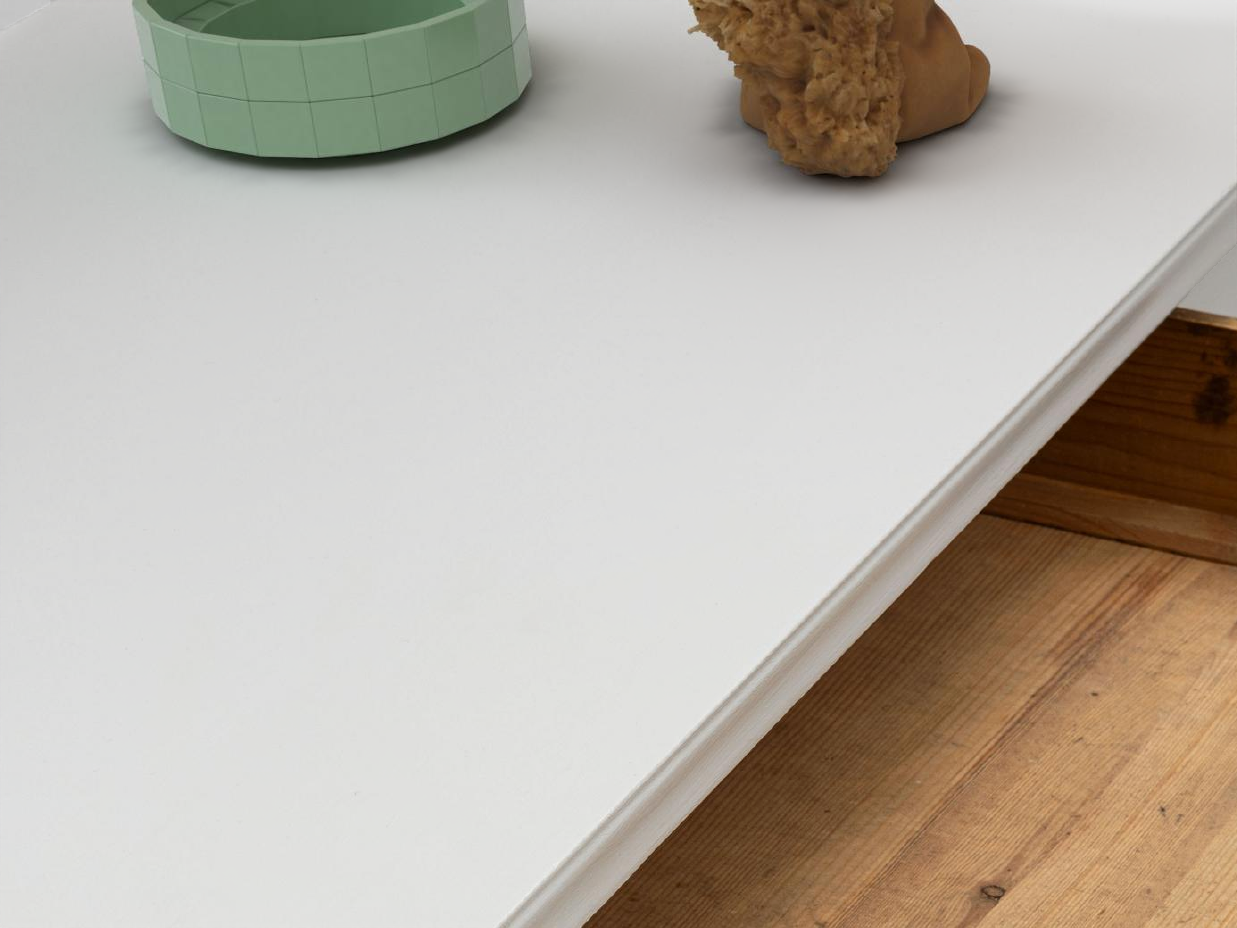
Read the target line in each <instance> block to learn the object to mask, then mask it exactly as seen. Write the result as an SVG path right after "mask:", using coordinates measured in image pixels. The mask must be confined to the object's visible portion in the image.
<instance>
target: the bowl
mask: <svg viewBox="0 0 1237 928" xmlns="http://www.w3.org/2000/svg"><path fill="white" fill-rule="evenodd" d="M131 8H132V13H133V18H134V23H135V27H136V32H137V37H138V40H139V46H140V51H141V56H142V59H143V60H142V61H143V66H144V70H145V75H146V80H147V85H148V91H149V94H150V99H151V104H152V108H153V112H154V114H155V115H156V116H157V117H158V118H159V119H160V120H161V121H162V123H163V124H164V125H165V126H166V127H167V128H168V129H169V131H171V132H172V133H173V134H175V135H178V136H180V137H182V138H185V139H187V140H189V141H192V142H194V143H197V144H199V145H201V146H203V147H206V148H211V149H216V150H222V151H227V152H233V153H239V154H244V155H250V156H256V157H268V158H269V157H270V158H305V159H307V158H308V159H310V158H312V159H319V158H337V157H338V158H339V157H351V156H359V155H360V156H361V155H368V154H375V153H380V152H387V151H392V150H396V149H400V148H406V147H410V146H412V145H417V144H421V143H426V142H430V141H434V140H439V139H442V138H445V137H447V136H450V135H451V134H455V133H457V132H459V131H463V130H465V129H467V128H470V127H473V126H475V125H478V124H479V123H483V122H486V121H487V120H489V119H490V118H492V117H493V116H495V115H496V114H498V113H499V112H501V111H502V110H504V109H505V108H506V107H508V106H509V105H511V104H513V103H514V102H516V101H517V100H519V98H520V97H521V95H522V94H523V91H524V90H525V89H526V87H527V85H528V83H529V82H530V80H531V79H532V76H533V70H532V61H531V54H530V45H529V35H528V25H527V17H526V9H525V0H131Z"/></svg>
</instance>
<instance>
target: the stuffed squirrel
mask: <svg viewBox="0 0 1237 928" xmlns="http://www.w3.org/2000/svg"><path fill="white" fill-rule="evenodd" d="M687 2H688V5H689V6H692V10H693V15H694V17H696V18H695V19H696V22H697V23H698V24H696V25H694V26H692V27H690V28H689V29H687V30H686V32H687V34H688V35H692V34H693V33H698V32H699V31H700V32H701V33H703V34H705V36H706V37H708V38H710V39H712V41H713V42H715V43H717V44H716V46H717V47H718V50H719V51H723V52H725V53H726V54H728V56H727V57H728V58H727V60H728V61H729V62H733V64H734V65H733V76H734V78H737V80H741V84H740V96H739V112H740V114H741V118H742V119H743V120H744V122H746V123H747V124H749V125H750V126H751V127H753V128H755V129H756V130H759V131H762V132H763V133H765V134H766V136H767V140H768V141H767V143H768V144H767V145H766V146H767V147H768V148H769V149H770V150H773V151H777V152H779V155H780V157H781V159H780V160H779V162H781V163H784V164H786V165H787V166H790V167H796V169H798V170H799V171H800V173H802V174H805V175H809V176H813V175H822V174H830V175H837V176H839V177H843V178H851V177H855V176H856V177H870V178H871V177H872V178H873V177H878V176H879V177H880V176H881V175H882V174H883V173H887V170H889V163H891V162H892V161H893V162H895V157H898V153H897V151H898V149H899V147H898V146H897V145H896V144H898V143H903V142H910V141H913V140H918V139H920V138H923V137H926V136H929V135H932V134H934V133H937V132H940V131H943V130H945V129H948V128H951V127H954V126H956V125H959V124H961V123H963V122H965V121H966V120H968V119H969V118H970V117H971V116H972V115H973V113H974V112H975V111H976V109H977V108H978V107H979V105H980V104H981V102H982V100H983V99H984V96H985V95H986V93H987V92H988V88H989V85H990V77H991V62H990V61H989V59H988V57H987V55H986V54H985V53H984V51H982V50H981V49H980V48H979V47H976V45H972V44H965V43H964V40H963V38H962V36H961V35H960V32H959V30H958V28H957V27H956V25H955V23H954V22H953V20H952V19H951V17H950V16H949V15H948V13H946V12H945V10H943V8H941V7H940V5H939V4H937V2H936V1H935V0H687Z"/></svg>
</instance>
